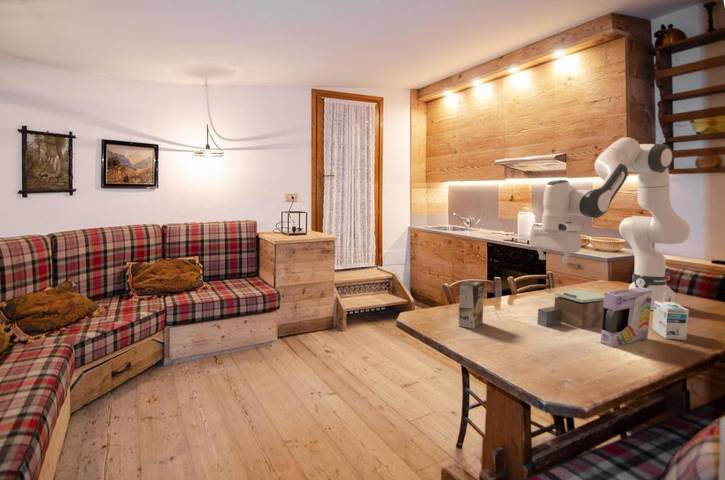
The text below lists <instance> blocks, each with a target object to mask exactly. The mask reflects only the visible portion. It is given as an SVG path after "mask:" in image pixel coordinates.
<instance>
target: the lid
mask: <svg viewBox="0 0 725 480" xmlns="http://www.w3.org/2000/svg"><path fill="white" fill-rule="evenodd" d="M554 296H555V297H563V298H567V299H570V300H574V301H578V302H582V303H585V302H594V301H602V300H604V294H600V293H597V292H596V293H595V292H591V291H587V290H583V289H581V290H571V291H570V290H569V291H562V292H561V291H560V292H555V293H554Z"/></svg>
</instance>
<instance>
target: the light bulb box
mask: <svg viewBox="0 0 725 480" xmlns="http://www.w3.org/2000/svg"><path fill="white" fill-rule="evenodd" d="M689 313H690V310H689V309H688V308H686V307H684V306H682V305H681V306H680V305H678V304H676V303H674V302H661V301H654V310H653V314H652V325H651V326H652V330H653V331H654V332H656V334H658V335H660V336H661V337H662V338H664V339H665V340H666V339H667V340H683V341H686V340H687V338H688V336H687V335H688V324H689Z"/></svg>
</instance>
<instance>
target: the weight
mask: <svg viewBox="0 0 725 480" xmlns="http://www.w3.org/2000/svg"><path fill="white" fill-rule="evenodd" d="M561 316H562V309H560V308H557V307H554V306H553V305H552V306H547V307H542V308H541V307H540V308H538V310H537V325H538V326H543V327H544V328H549V327H554V326H559V325H562V322H561Z"/></svg>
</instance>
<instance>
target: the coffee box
mask: <svg viewBox="0 0 725 480" xmlns="http://www.w3.org/2000/svg"><path fill="white" fill-rule="evenodd" d="M484 293H485V281H478V280H467V281H465V282H462V283H459V305H458V309H459V310H458V326H459V327H463V328H468V329H473V330H474V329H476V328H478V327H479V326H480V325H481V324H483V321H484V320H483V319H484V300H485V299H484V298H485V295H484Z"/></svg>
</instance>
